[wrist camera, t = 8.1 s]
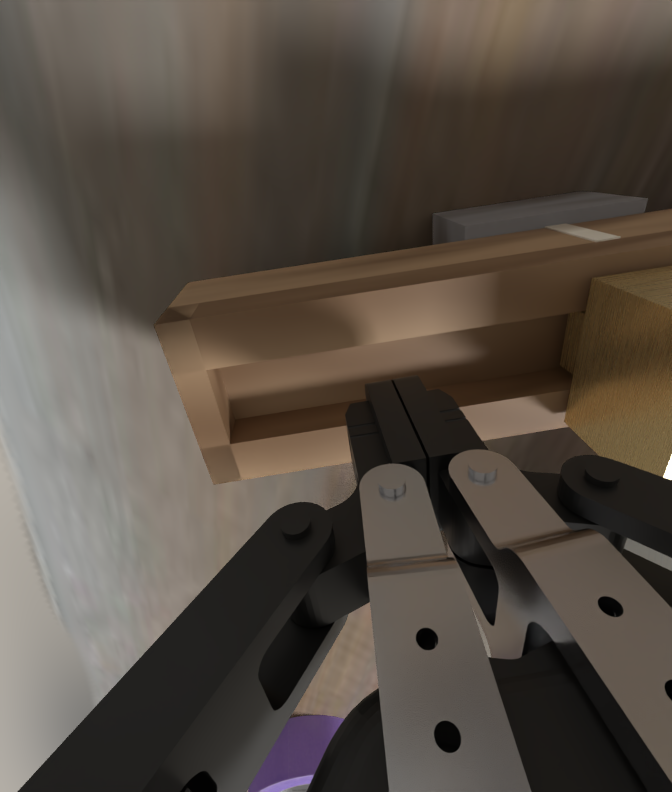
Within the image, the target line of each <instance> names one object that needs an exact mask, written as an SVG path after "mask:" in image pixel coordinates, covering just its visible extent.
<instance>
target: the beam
mask: <svg viewBox="0 0 672 792" xmlns="http://www.w3.org/2000/svg"><path fill="white" fill-rule="evenodd" d="M647 201H648V198H641V197H632V196H623V195H614V194H606V193H597V192H588V191H578V192H572V193H565V194H558V195H552V196H545V197H538V198H532V199H525V200H519V201H512V202H505V203H499V204H492V205H486V206H479V207H472V208H466V209H459V210H452V211H446V212H439V213H433V245H430V246H423V247H417V248H410V249H404V250H397V251H391V252H384V253H378V254H371V255H364V256H358V257H351V258H345V259H338V260H332V261H325V262H319V263H312V264H305V265H299V266H292V267H286V268H279V269H273V270H266V271H260V272H253V273H247V274H240V275H233V276H227V277H220V278H214V279H207V280H201V281H194V282H188V283H187V284H186V286H185V287H184V288H183V289H182V291H181V292H180V293H179V294H178V295H177V297H176V298H175V299H174V300H173V302H172V303H171V304H170V305H169V307H168V308H167V309H166V310H165V311H164V313H163V314H162V315H161V316H160V318H159V319H158V320H157V321H156V323H155V324H154V328H155V330H156V333H157V336H158V338H159V341H160V343H161V346H162V349H163V351H164V354H165V357H166V359H167V362H168V365H169V367H170V370H171V373H172V375H173V378H174V381H175V383H176V386H177V389H178V391H179V394H180V397H181V399H182V402H183V405H184V407H185V410H186V413H187V415H188V418H189V421H190V423H191V426H192V429H193V431H194V434H195V437H196V439H197V442H198V445H199V447H200V450H201V452H202V455H203V458H204V460H205V463H206V466H207V468H208V471H209V474H210V476H211V479H212V482H213V484H214V485H215V484H221V483H227V482H233V481H239V480H245V479H251V478H258V477H264V476H270V475H276V474H282V473H288V472H294V471H300V470H307V469H313V468H319V467H325V466H331V465H337V464H343V463H350V462H352V459H351V453H350V446H349V440H348V433H347V426H346V419H345V414H346V412H347V409H348V407H349V405H350V404H351V403H357V402H363V401H366V395H365V384H366V383H372V382H378V381H384V380H392V379H396V378H402V377H408V376H414V375H418V376H419V378H420V380H421V381H422V383H423V385H424V386H425V388H426V390H427V391H429V390H435V389H440V390H441V391H443V392H445V393H446V394H448V395H450V396H451V397H453V399H454V400H455V402H456V403H457V405H458V406H459V408H460V410H461V411H462V412H463V413H464V415H465V416H466V419H468V421H469V422H470V424H471V425H472V427H473V428H474V430H475V431H476V433H477V434H478V436H479V437H480V438H481V440H482V441H485V440H491V439H497V438H503V437H509V436H515V435H522V434H528V433H534V432H540V431H546V430H552V429H558V428H565V427H569V426H568V425H567V424H566V423H565V422H564V419H565V414H566V409H567V404H568V399H569V394H570V389H571V384H572V379H573V375H572V374H571V373H570V372H568V371H567V370H566V369H564V368H563V367H562V366H561V365H560V361H561V355H562V349H563V343H564V338H565V332H566V326H567V320H568V315H569V313H573V312H579V311H586V307H587V302H588V297H589V292H590V286H591V281H592V278H595V277H601V276H608V275H614V274H621V273H627V272H634V271H640V270H647V269H653V268H659V267H666V266H672V209H666V210H659V211H653V212H646V213H645V209H646V205H647Z"/></svg>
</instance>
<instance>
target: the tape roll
mask: <svg viewBox="0 0 672 792" xmlns="http://www.w3.org/2000/svg"><path fill="white" fill-rule="evenodd" d="M343 721H344V719H342V718H338V717H334V716H326V715H308V716H299V717H293V718H289V720H288V722H287V723H286V725H285V727H284V729H283V730H282V732H281V734H280V735H279V737H278V739H277V741H276V742H275V744H274V746H273V747H272V749H271V751H270V752H269V754H268V756H267V758H266V759H265V761H264V763H263V764H262V766H261V768H260V770H259V771H258V773H257V775H256V776H255V778H254V780H253V781H252V783H251V785H250V787H249V788H248V792H306V791H307V789H308V787H309V785H310V783H311V780H312V778H313V776H314V774H315V772H316V770H317V767H318V765H319V763H320V761H321V759H322V757H323V754H324V752H325V750H326V748H327V746H328V744H329V742H330V740H331V739H332V737H333V736H334V734H335V732H336V731H337V729H338V728H339V726H340V724H341V723H342V722H343Z"/></svg>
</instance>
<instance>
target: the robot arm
mask: <svg viewBox="0 0 672 792" xmlns="http://www.w3.org/2000/svg"><path fill="white" fill-rule="evenodd" d="M365 395H366V401H363V402H357V403H351V404H350V405H349V407H348V409H347V412H346V414H345V419H346V426H347V433H348V440H349V446H350V453H351V459H352V464H353V469H354V474H355V479H356V484H357V487H356V489H355V491H354V493H353V494H352V495H351V496H350V497H349V498H348V499H347V500H345V501H344V502H343V503H341V504H339V505H337V506H335V507H333V508H331V509H328V510H325V509H324V508H322V507H321V506H319V505H317V504H314V503H309V502H298V503H293V504H289V505H287V506H284V507H282V508H280V509H279V510H277V511H276V512H274V513H273V514H272V515H271V516H270V517H269V518H268V519H267V520H266V522H265V523H264V524H263V525H262V526H261V527H260V528H259V529H258V530H257V531H256V532H255V534H254V535H253V536H252V537H251V538H250V539H249V540H248V541H247V542H246V543H245V544H244V545H243V547H242V548H241V549H240V550H239V551H238V552H237V553H236V554H235V555H234V556H233V557H232V559H231V560H230V561H229V562H228V563H227V564H226V565H225V566H224V567H223V568H222V569H221V571H220V572H219V573H218V574H217V575H216V576H215V577H214V578H213V579H212V580H211V581H210V583H209V584H208V585H207V586H206V587H205V588H204V589H203V590H202V591H201V592H200V593H199V595H198V596H197V597H196V598H195V599H194V600H193V601H192V602H191V603H190V604H189V605H188V607H187V608H186V609H185V610H184V611H183V612H182V613H181V614H180V615H179V616H178V617H177V619H176V620H175V621H174V622H173V623H172V624H171V625H170V626H169V627H168V628H167V629H166V631H165V632H164V633H163V634H162V635H161V636H160V637H159V638H158V639H157V640H156V641H155V642H154V644H153V645H152V646H151V647H150V648H149V649H148V650H147V651H146V652H145V653H144V654H143V656H142V657H141V658H140V659H139V660H138V661H137V662H136V663H135V664H134V665H133V666H132V668H131V669H130V670H129V671H128V672H127V673H126V674H125V675H124V676H123V677H122V678H121V680H120V681H119V682H118V683H117V684H116V685H115V686H114V687H113V688H112V689H111V690H110V692H109V693H108V694H107V695H106V696H105V697H104V698H103V699H102V700H101V701H100V702H99V704H98V705H97V706H96V707H95V708H94V709H93V710H92V711H91V712H90V713H89V715H88V716H87V717H86V718H85V719H84V720H83V721H82V722H81V723H80V724H79V725H78V727H77V728H76V729H75V730H74V731H73V732H72V733H71V734H70V735H69V736H68V737H67V738H66V740H65V741H64V742H63V743H62V744H61V745H60V746H59V747H58V748H57V749H56V751H55V752H54V753H53V754H52V755H51V756H50V757H49V758H48V759H47V760H46V761H45V762H44V764H43V765H42V766H41V767H40V768H39V769H38V770H37V771H36V772H35V773H34V774H33V776H32V777H31V778H30V779H29V780H28V781H27V782H26V783H25V784H24V785H23V787H21V789H20V790H19V791H18V792H247V790H248V788H249V787H250V785H251V783H252V781H253V780H254V778H255V776H256V775H257V773H258V771H259V770H260V768H261V766H262V764H263V763H264V761H265V759H266V758H267V756H268V754H269V752H270V751H271V749H272V747H273V746H274V744H275V742H276V741H277V739H278V737H279V735H280V734H281V732H282V730H283V729H284V727H285V725H286V723H287V722H288V720H289V718H290V717H291V715H292V713H293V712H294V710H295V708H296V706H297V705H298V703H299V701H300V700H301V698H302V696H303V694H304V693H305V691H306V689H307V688H308V686H309V684H310V682H311V681H312V679H313V677H314V676H315V674H316V672H317V671H318V669H319V667H320V665H321V664H322V662H323V660H324V659H325V657H326V655H327V653H328V652H329V650H330V648H331V647H332V645H333V643H334V642H335V640H336V638H337V636H338V635H339V633H340V631H341V630H342V628H343V626H344V624H345V622H346V620H347V617H348V614H349V613H351V612H352V611H354V610H356V609H358V608H360V607H361V606H363V605H365V604H367V603H369V602H370V607H371V617H372V627H373V637H374V646H375V656H376V666H377V676H378V686H379V688H378V689H377V690H375V691H374V692H372V693H371V694H370V695H368V696H367V697H366V698H364V699H363V700H362V701H361V702H360V703H359V704H358V705H357V706H356V707H355V708H354V709H353V710H352V711H351V712H350V713H349V714H348V716H347V717H346V718H345V719H344V721H343V722H342V723H341V724H340V726H339V728H338V729H337V731H336V732H335V734H334V736H333V737H332V739H331V740H330V742H329V744H328V746H327V748H326V750H325V752H324V754H323V757H322V759H321V761H320V763H319V765H318V767H317V770H316V772H315V774H314V776H313V778H312V780H311V783H310V785H309V787H308V789H307V791H306V792H672V571H671V570H669V569H666V568H664V567H662V566H660V565H658V564H656V563H654V562H652V561H649V560H647V559H645V558H643V557H641V556H639V555H637V554H635V553H632V552H630V551H628V550H626V549H624V546H625V543H626V540H627V538H629V539H631V540H633V541H635V542H638V543H640V544H642V545H644V546H646V547H649V548H651V549H653V550H655V551H657V552H660V553H662V554H664V555H666V556H668V557H671V558H672V480H670V479H667V478H664V477H661V476H658V475H656V474H653V473H650V472H647V471H644V470H641V469H638V468H636V467H633V466H630V465H627V464H624V463H621V462H619V461H616V460H613V459H610V458H606V457H601V456H594V455H583V456H577V457H573V458H571V459H569V460H567V461H566V462H565V463H564V464H563V466H562V469H561V474H552V473H536V472H526V471H521V470H519V469H518V468H517V467H516V466H515V465H514V464H513V463H512V462H511V461H510V460H509V459H508V458H507V457H505V456H503V455H501V454H499V453H496V452H493V451H489V450H488V449H487V447H486V446H485V444H484V443H483V441H482V440H481V438H480V437H479V436H478V434H477V433H476V431H475V430H474V428H473V427H472V425H471V424H470V422H469V421H468V419H466V416H465V415H464V413H463V412H462V411H461V410H460V408H459V406H458V405H457V403H456V402H455V400H454V399H453V397H451V396H450V395H448V394H446V393H445V392H443V391H441V390H440V389H435V390H429V391H427V390H426V388H425V386H424V385H423V383H422V381H421V380H420V378H419V376H418V375H414V376H408V377H402V378H396V379H392V380H384V381H378V382H372V383H366V384H365ZM441 530H443V531H444V533H445V536H446V538H447V552H446V549H445V546H444V543H443V539H442V536H441V533H440V531H441ZM472 608H473V609H472ZM473 611H474V613H475V615H476V617H477V619H478V621H479V623H480V625H481V627H482V629H483V631H484V633H485V636H486V638H487V641H488V644H489V648H490V653H491V658H490V657H488V656H487V653H486V650H485V647H484V643H483V640H482V637H481V634H480V631H479V628H478V625H477V622H476V619H475V616H474V613H473Z"/></svg>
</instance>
